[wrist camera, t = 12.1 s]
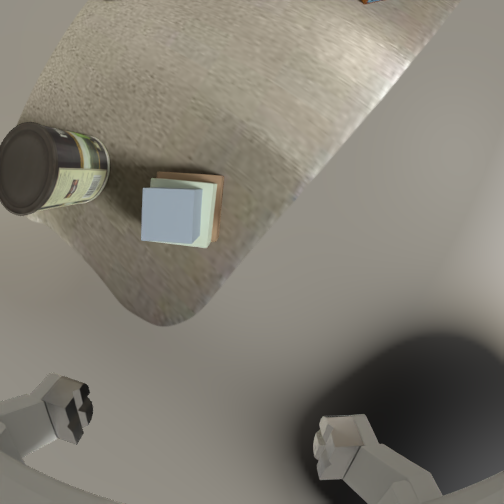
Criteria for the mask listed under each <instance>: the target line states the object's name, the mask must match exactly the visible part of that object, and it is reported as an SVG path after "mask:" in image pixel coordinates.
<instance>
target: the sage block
mask: <svg viewBox="0 0 504 504" xmlns="http://www.w3.org/2000/svg"><path fill="white" fill-rule="evenodd" d="M151 187H168V188H191V189H203V192H202V207H201V225H200V236H199V237H198V238H197V239H196V240H195V241H194V242H193V243H192V244H184V243H170V242H161V243H169V244H177V245H186V246H194V247H202V248H207V247H208V245H209V244H210V242H211V236H212V227H213V217H214V208H215V200H216V191H217V184H215V183H205V182H195V181H184V180H173V179H160V178H151V184H150V188H151ZM153 242H157V241H153Z"/></svg>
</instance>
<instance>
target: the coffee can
mask: <svg viewBox="0 0 504 504" xmlns="http://www.w3.org/2000/svg"><path fill="white" fill-rule="evenodd" d="M109 172H110V160H109V155H108V152H107V150H106V148H105V146H104V145H103V143H102V142H101V141H100V140H98V139H97V138H95V137H93V136H90V135H83V134H78V133H74V132H70V131H65V130H61V129H56V128H52V127H47V126H42V125H40V124H38V123H34V122H26V123H22V124H20V125H18V126H16V127H15V128H13V129H12V130H11V131H10V132H9V133H8V134H7V136H6V137H5V138H4V140H3V142H2V143H1V145H0V202H1V203H2V205H3V206H4V207H5V208H6V209H7V210H8V211H9V212H11V213H13V214H15V215H19V216H24V215H28V214H32V213H34V212H37V211H42V210H47V209H52V208H57V207H63V206H68V205H73V204H83V203H87V202H90V201H92V200H93V199H95V198H96V197H97V196H98V195H99V194H100V193H101V192H102V190H103V189H104V187H105V185H106V183H107V180H108V177H109Z"/></svg>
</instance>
